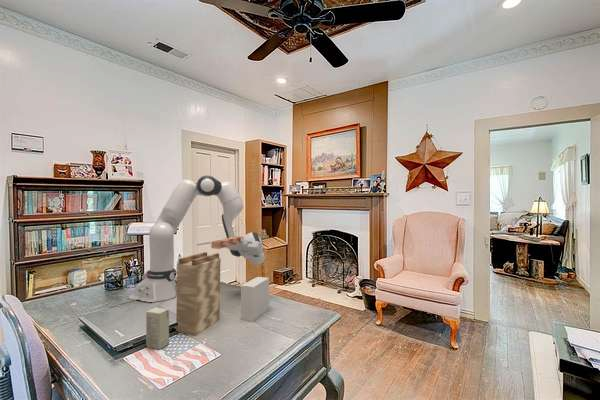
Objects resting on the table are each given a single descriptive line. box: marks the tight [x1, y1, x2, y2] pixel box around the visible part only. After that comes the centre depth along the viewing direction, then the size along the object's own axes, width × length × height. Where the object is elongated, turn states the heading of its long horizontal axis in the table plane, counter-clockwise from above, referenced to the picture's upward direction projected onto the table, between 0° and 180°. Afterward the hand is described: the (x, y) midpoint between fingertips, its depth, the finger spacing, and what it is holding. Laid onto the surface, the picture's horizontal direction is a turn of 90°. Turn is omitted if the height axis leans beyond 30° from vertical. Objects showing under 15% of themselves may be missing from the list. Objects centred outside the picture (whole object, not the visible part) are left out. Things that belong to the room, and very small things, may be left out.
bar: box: [210, 235, 243, 250], centre depth 132 cm, size 20×4×3 cm, turn 161°
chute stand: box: [175, 251, 221, 337], centre depth 113 cm, size 15×9×28 cm, turn 161°
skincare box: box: [145, 306, 170, 350], centre depth 98 cm, size 6×4×12 cm
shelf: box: [239, 276, 270, 323], centre depth 126 cm, size 15×6×14 cm, turn 161°
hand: (235, 239), depth 138 cm, fingers closed on bar, 4 cm apart
